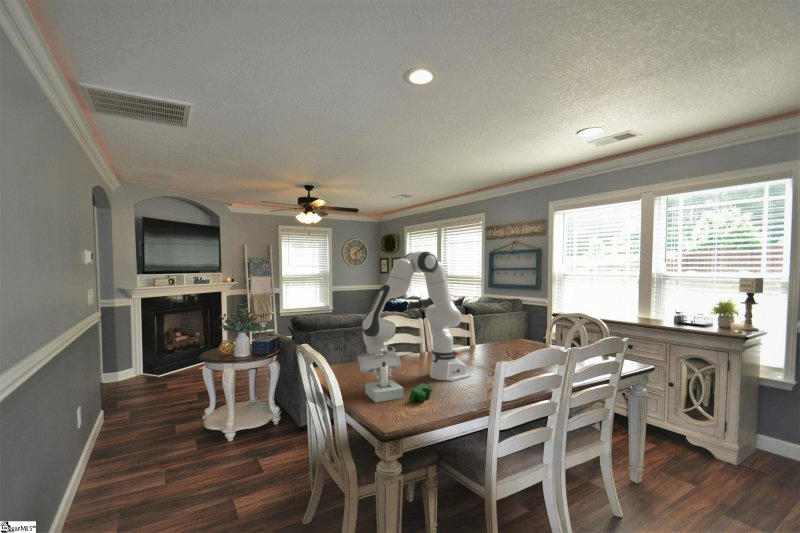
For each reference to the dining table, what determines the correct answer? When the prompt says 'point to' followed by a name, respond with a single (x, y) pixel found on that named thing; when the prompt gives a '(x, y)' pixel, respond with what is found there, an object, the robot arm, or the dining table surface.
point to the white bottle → (384, 375)
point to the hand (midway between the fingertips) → (384, 378)
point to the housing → (384, 391)
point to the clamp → (420, 392)
